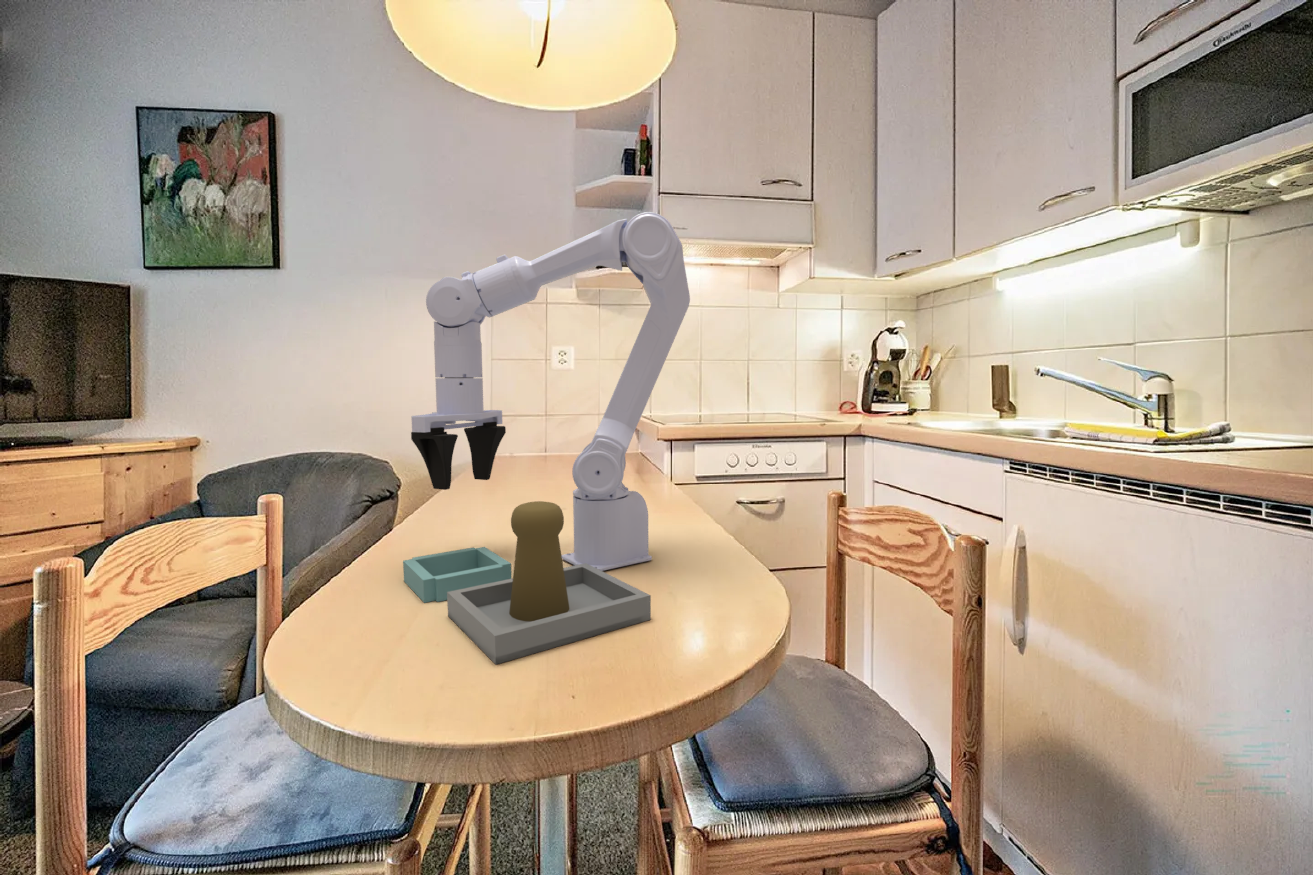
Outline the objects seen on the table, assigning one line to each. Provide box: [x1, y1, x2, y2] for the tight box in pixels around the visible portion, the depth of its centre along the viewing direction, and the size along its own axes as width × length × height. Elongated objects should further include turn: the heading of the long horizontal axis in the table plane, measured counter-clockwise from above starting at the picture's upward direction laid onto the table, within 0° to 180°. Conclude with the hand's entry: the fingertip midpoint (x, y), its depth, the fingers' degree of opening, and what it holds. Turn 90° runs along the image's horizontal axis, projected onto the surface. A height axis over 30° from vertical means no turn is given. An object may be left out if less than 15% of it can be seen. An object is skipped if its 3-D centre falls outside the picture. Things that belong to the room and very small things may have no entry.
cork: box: [509, 500, 570, 622], centre depth 60 cm, size 6×6×11 cm
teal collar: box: [402, 546, 513, 604], centre depth 71 cm, size 10×10×2 cm
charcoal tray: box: [446, 563, 652, 665], centre depth 60 cm, size 16×13×2 cm
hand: (462, 483), depth 78 cm, fingers open, 7 cm apart
